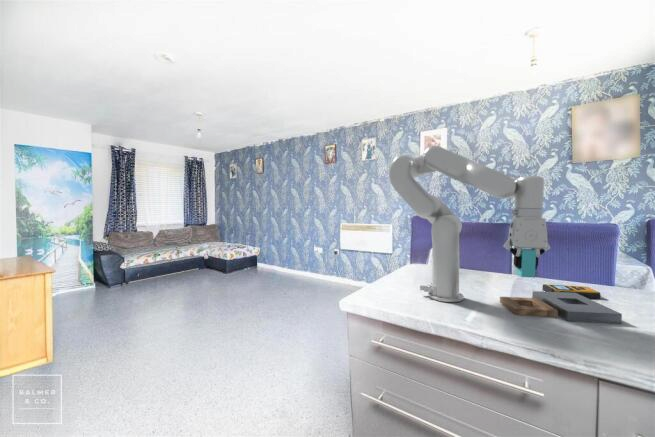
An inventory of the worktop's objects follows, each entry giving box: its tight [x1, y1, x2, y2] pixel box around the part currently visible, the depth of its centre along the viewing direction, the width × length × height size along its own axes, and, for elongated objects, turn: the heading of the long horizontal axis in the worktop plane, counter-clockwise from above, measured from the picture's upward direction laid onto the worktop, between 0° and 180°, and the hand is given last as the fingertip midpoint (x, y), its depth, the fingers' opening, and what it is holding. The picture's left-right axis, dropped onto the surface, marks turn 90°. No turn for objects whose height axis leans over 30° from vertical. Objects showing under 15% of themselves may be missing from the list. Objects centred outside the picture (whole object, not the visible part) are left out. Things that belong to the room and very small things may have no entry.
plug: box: [515, 248, 536, 278], centre depth 95 cm, size 4×4×9 cm
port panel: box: [531, 290, 623, 325], centre depth 94 cm, size 14×20×3 cm
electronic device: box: [542, 284, 601, 300], centre depth 110 cm, size 8×16×3 cm, turn 74°
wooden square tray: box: [499, 296, 559, 318], centre depth 96 cm, size 12×12×2 cm
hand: (525, 267), depth 95 cm, fingers closed on plug, 4 cm apart
